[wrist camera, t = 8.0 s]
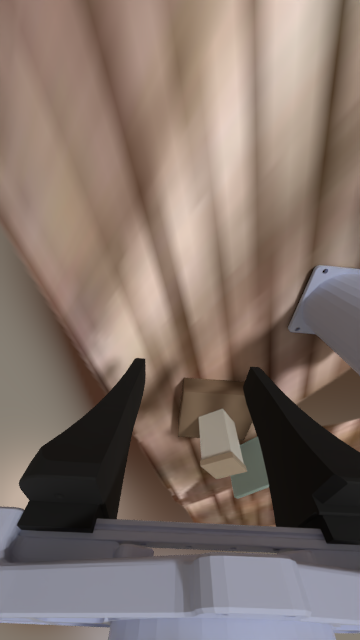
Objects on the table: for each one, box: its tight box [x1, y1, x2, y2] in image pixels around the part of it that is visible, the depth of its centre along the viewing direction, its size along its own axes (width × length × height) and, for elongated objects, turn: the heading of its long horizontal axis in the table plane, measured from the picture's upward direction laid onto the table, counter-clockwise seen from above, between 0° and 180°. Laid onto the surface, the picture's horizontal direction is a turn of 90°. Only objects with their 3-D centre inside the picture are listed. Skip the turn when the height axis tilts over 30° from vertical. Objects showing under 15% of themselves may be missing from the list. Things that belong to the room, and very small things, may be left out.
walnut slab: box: [178, 378, 252, 440], centre depth 30 cm, size 11×11×3 cm
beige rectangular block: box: [199, 409, 247, 479], centre depth 26 cm, size 4×4×6 cm
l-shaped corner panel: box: [231, 436, 269, 499], centre depth 35 cm, size 12×12×8 cm
